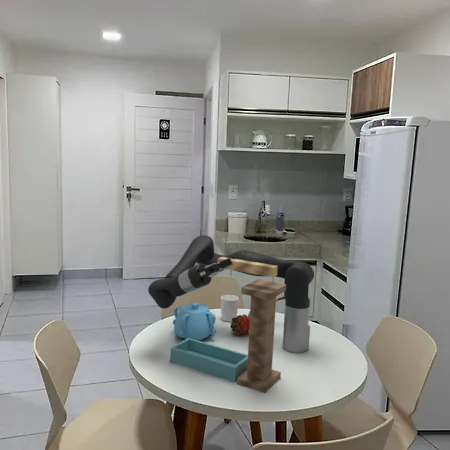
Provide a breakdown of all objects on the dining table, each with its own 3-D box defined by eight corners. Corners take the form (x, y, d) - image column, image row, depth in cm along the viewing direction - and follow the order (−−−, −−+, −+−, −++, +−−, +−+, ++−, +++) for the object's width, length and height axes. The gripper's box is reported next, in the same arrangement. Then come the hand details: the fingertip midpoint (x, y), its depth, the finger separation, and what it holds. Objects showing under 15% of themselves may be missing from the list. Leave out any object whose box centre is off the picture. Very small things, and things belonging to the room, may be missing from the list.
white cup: (218, 321, 198) (219, 299, 197) (221, 315, 206) (222, 294, 204) (236, 323, 197) (237, 301, 195) (238, 316, 205) (239, 295, 203)
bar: (217, 267, 147) (217, 258, 147) (222, 265, 150) (222, 256, 149) (273, 277, 137) (273, 267, 137) (277, 275, 140) (277, 265, 139)
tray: (170, 361, 158) (170, 348, 157) (188, 350, 167) (188, 337, 166) (234, 382, 145) (235, 367, 144) (250, 369, 154) (251, 355, 154)
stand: (236, 384, 144) (241, 287, 139) (253, 369, 154) (258, 279, 149) (264, 393, 139) (270, 293, 134) (280, 377, 149) (286, 284, 145)
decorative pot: (217, 343, 175) (219, 309, 173) (176, 345, 172) (177, 310, 170) (209, 327, 191) (211, 296, 189) (171, 329, 187) (172, 297, 185)
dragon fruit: (233, 341, 181) (244, 335, 192) (250, 332, 178) (260, 327, 189) (223, 322, 183) (234, 317, 194) (240, 313, 180) (250, 308, 191)
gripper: (210, 283, 160) (248, 266, 151) (187, 293, 148) (227, 275, 139) (201, 264, 161) (239, 245, 152) (178, 272, 149) (217, 253, 140)
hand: (233, 260), depth 146 cm, fingers closed on bar, 3 cm apart
